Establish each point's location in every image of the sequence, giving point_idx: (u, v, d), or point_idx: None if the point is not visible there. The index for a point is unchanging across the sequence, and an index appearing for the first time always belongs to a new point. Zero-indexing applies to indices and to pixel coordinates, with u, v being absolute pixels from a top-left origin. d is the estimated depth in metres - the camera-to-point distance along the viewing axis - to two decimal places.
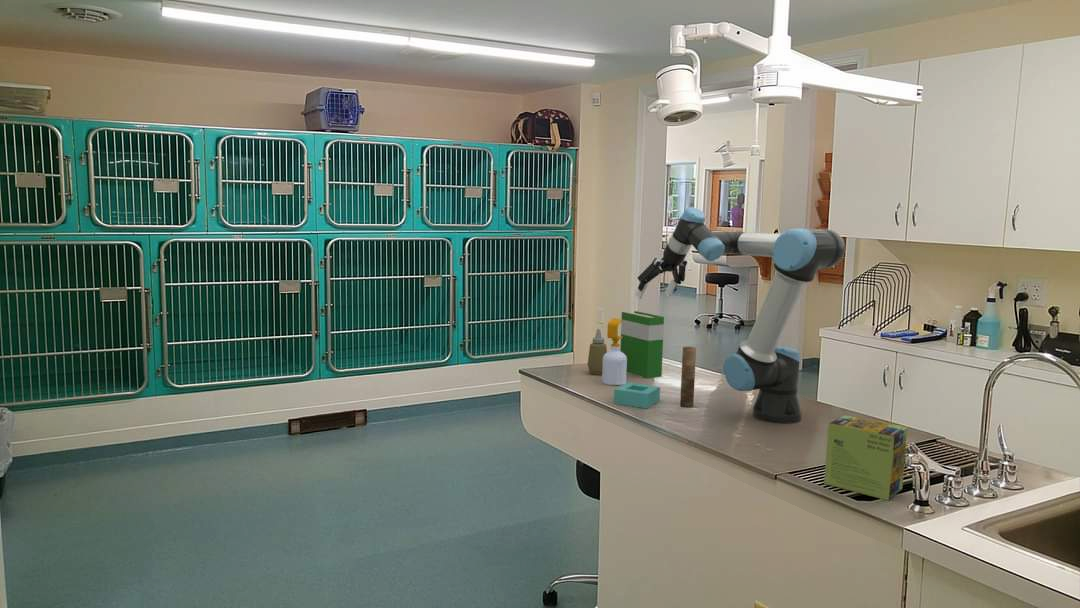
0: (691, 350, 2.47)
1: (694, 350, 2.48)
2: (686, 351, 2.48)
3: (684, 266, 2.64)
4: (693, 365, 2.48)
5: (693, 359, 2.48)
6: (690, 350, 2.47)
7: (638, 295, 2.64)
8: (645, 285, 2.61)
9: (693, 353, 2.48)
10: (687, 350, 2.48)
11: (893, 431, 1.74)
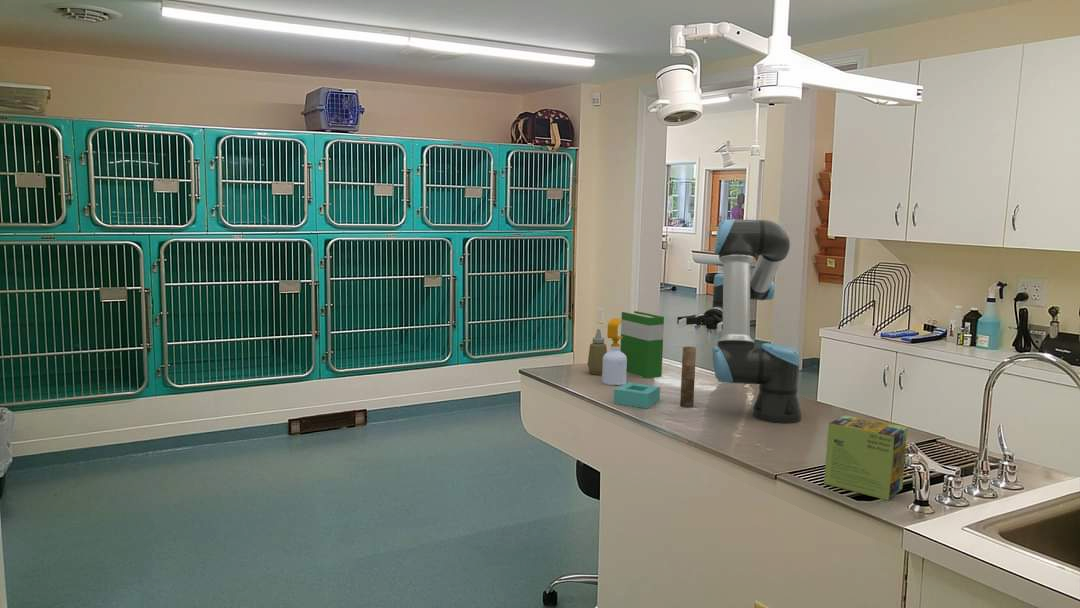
0: (691, 350, 2.47)
1: (694, 350, 2.48)
2: (686, 351, 2.48)
3: None
4: (693, 365, 2.48)
5: (693, 359, 2.48)
6: (690, 350, 2.47)
7: None
8: (683, 318, 2.65)
9: (693, 353, 2.48)
10: (687, 350, 2.48)
11: (894, 431, 1.74)
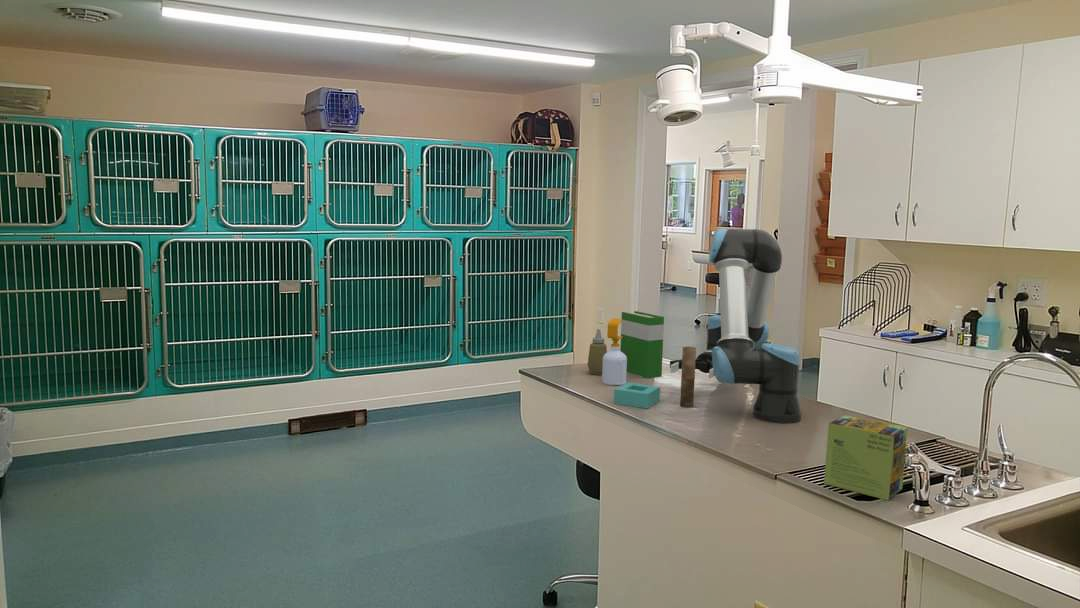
0: (691, 350, 2.47)
1: (694, 350, 2.48)
2: (686, 351, 2.48)
3: None
4: (693, 365, 2.48)
5: (693, 359, 2.48)
6: (690, 350, 2.47)
7: None
8: (676, 363, 2.63)
9: (693, 353, 2.48)
10: (687, 350, 2.48)
11: (893, 431, 1.74)
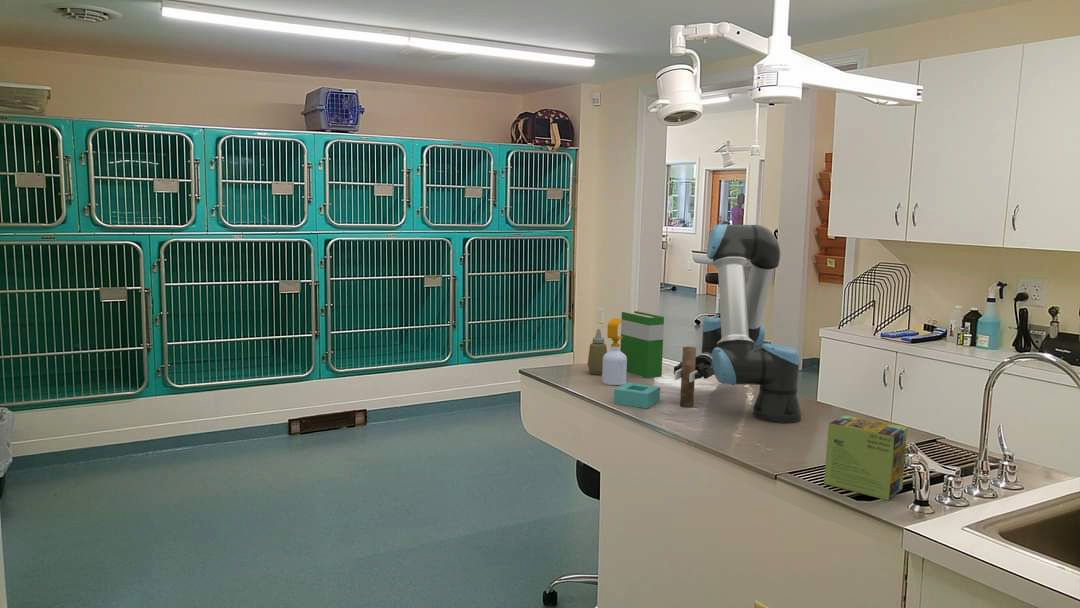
0: (691, 350, 2.47)
1: (694, 350, 2.48)
2: (686, 351, 2.48)
3: (712, 367, 2.56)
4: (693, 365, 2.48)
5: (693, 359, 2.48)
6: (690, 350, 2.47)
7: None
8: (680, 369, 2.52)
9: (693, 353, 2.48)
10: (687, 350, 2.48)
11: (894, 431, 1.74)
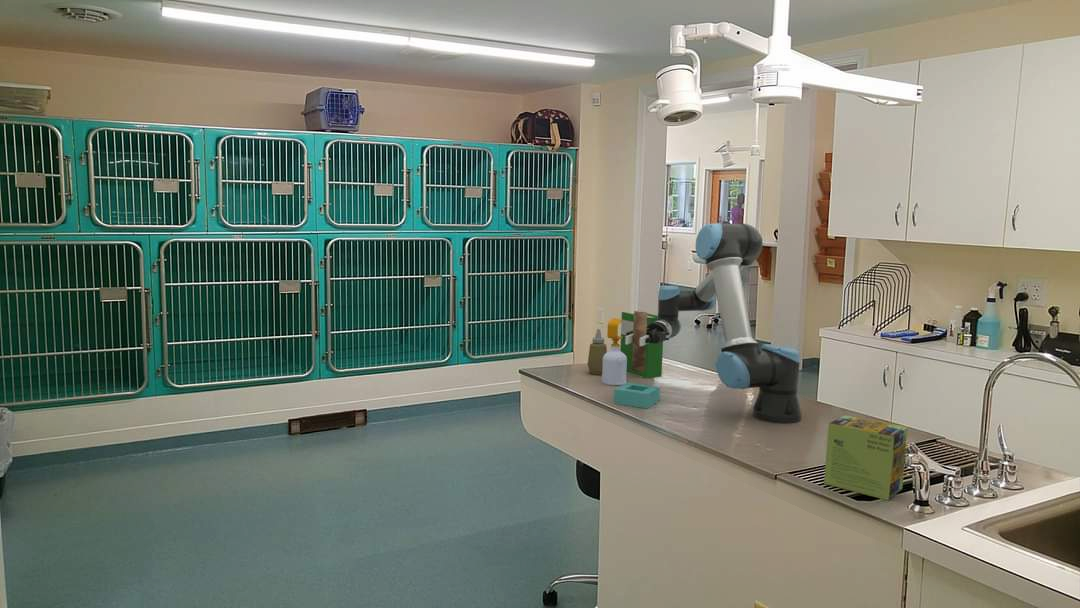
0: (642, 315, 2.49)
1: (645, 315, 2.50)
2: (637, 316, 2.50)
3: (664, 333, 2.58)
4: (644, 330, 2.51)
5: (644, 324, 2.50)
6: (641, 315, 2.49)
7: None
8: None
9: (644, 318, 2.50)
10: (638, 315, 2.50)
11: (893, 431, 1.74)
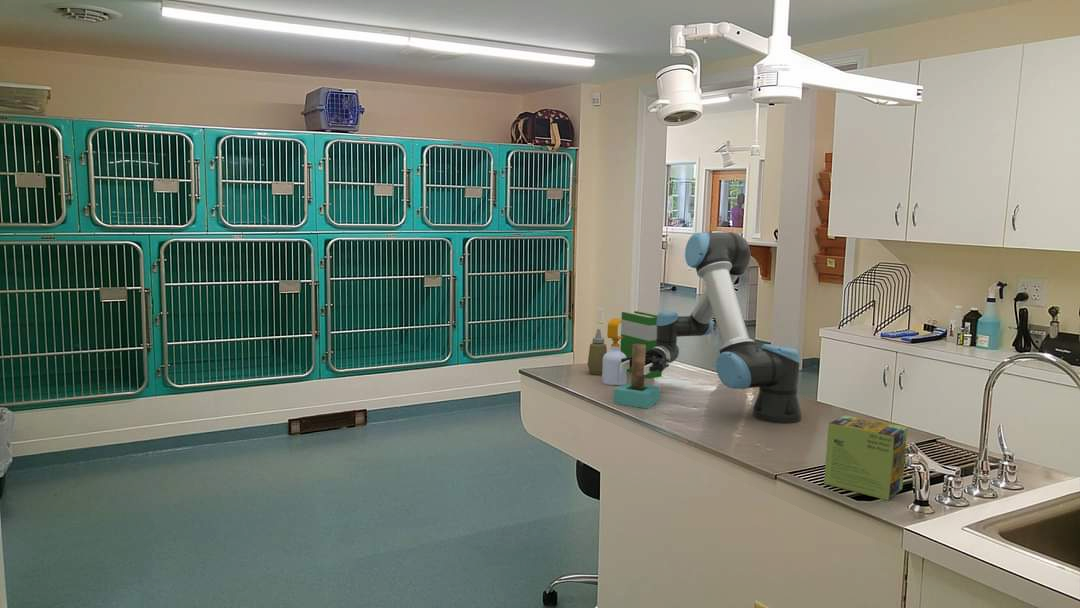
0: (640, 347, 2.51)
1: (643, 347, 2.51)
2: (636, 348, 2.51)
3: (665, 360, 2.59)
4: (643, 362, 2.52)
5: (643, 356, 2.51)
6: (639, 347, 2.51)
7: None
8: (627, 361, 2.57)
9: (642, 350, 2.51)
10: (637, 347, 2.51)
11: (893, 431, 1.74)
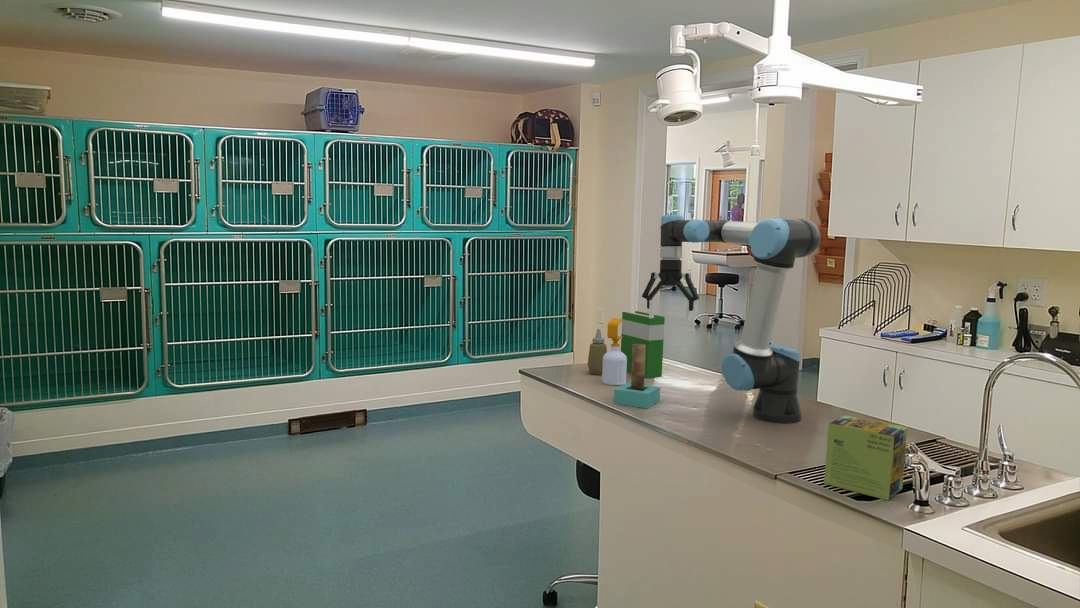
0: (640, 347, 2.51)
1: (643, 347, 2.51)
2: (635, 348, 2.51)
3: (687, 279, 2.58)
4: (643, 362, 2.52)
5: (642, 356, 2.51)
6: (639, 347, 2.51)
7: None
8: (649, 301, 2.66)
9: (642, 350, 2.51)
10: (636, 347, 2.51)
11: (894, 431, 1.74)
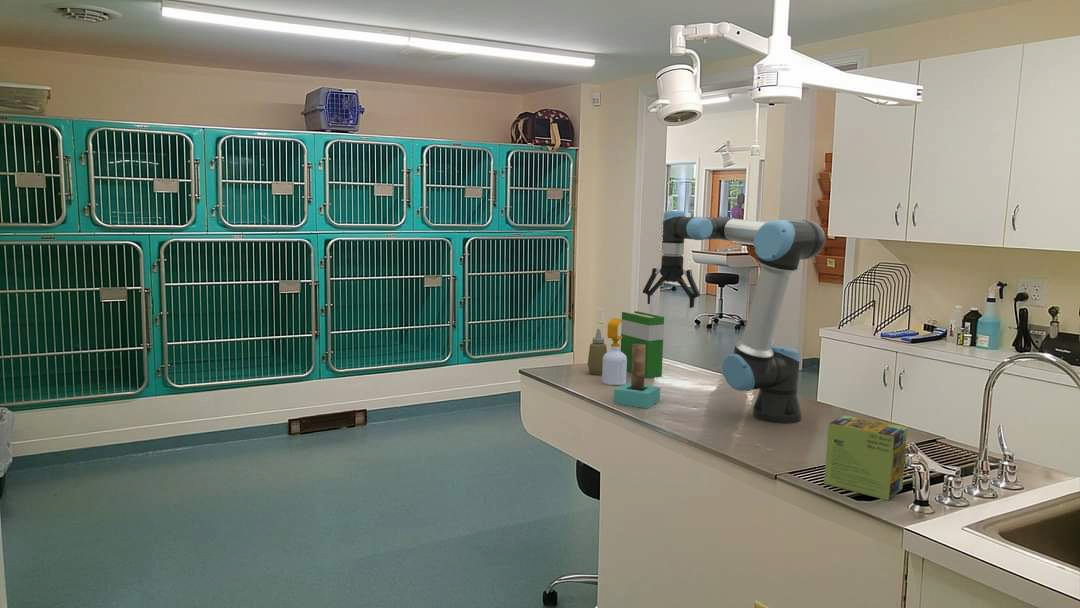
0: (640, 347, 2.51)
1: (643, 347, 2.51)
2: (636, 348, 2.51)
3: (688, 276, 2.57)
4: (643, 362, 2.52)
5: (642, 356, 2.51)
6: (639, 347, 2.51)
7: None
8: (650, 296, 2.65)
9: (642, 350, 2.51)
10: (636, 347, 2.51)
11: (893, 431, 1.74)
